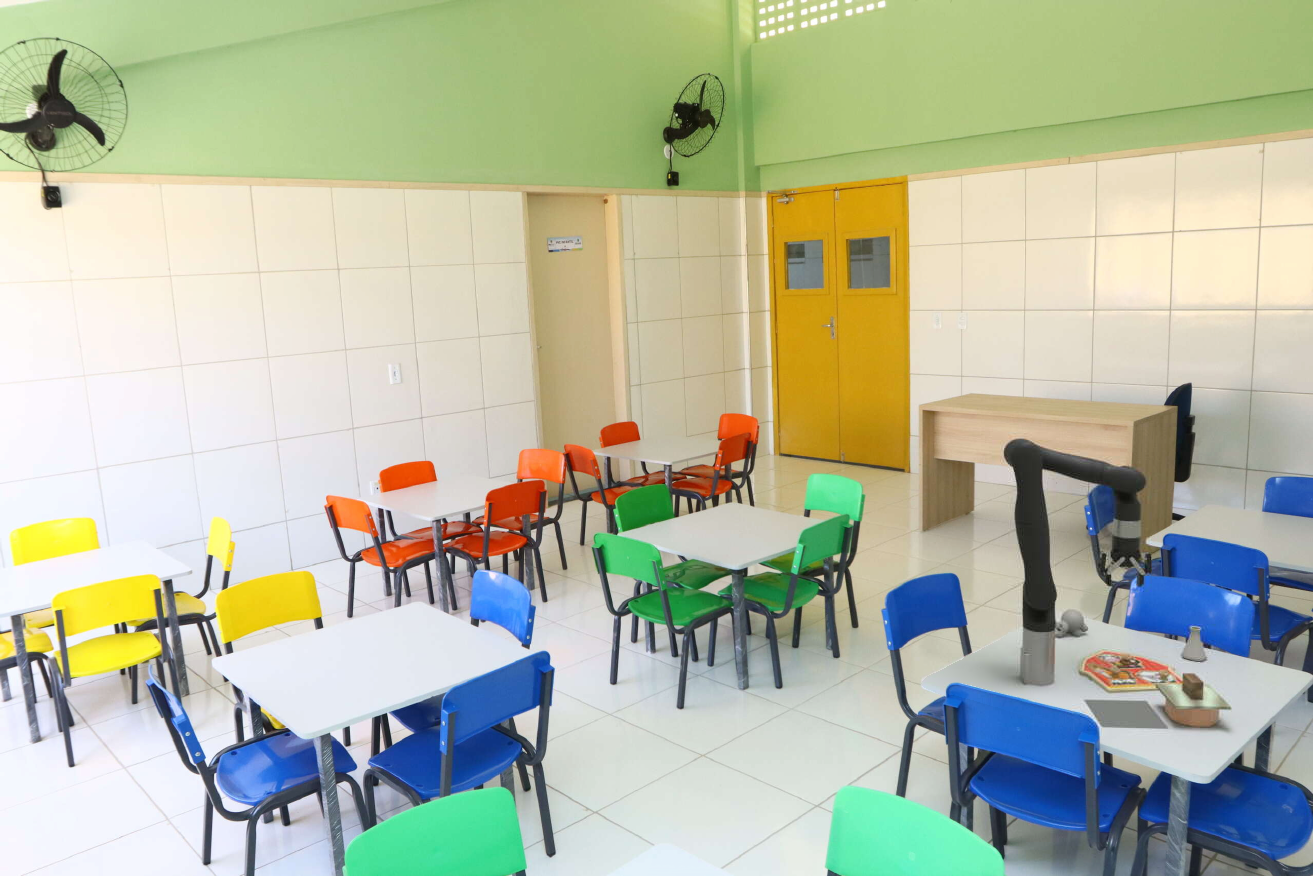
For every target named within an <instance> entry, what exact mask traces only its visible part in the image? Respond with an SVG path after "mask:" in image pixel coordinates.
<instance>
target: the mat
mask: <svg viewBox="0 0 1313 876" xmlns="http://www.w3.org/2000/svg"><path fill="white" fill-rule="evenodd" d="M1083 701H1084V702H1085V704H1086V705H1087V707H1088V708H1089V710H1090V712H1091V713H1092V714H1093V716H1094V717H1095V719H1096V720H1097V722H1098V723H1099V725H1100V726H1101V728H1117V729H1119V728H1121V729H1122V728H1123V729H1124V728H1125V729H1126V728H1127V729H1159V730H1160V729H1162V730H1163V729H1164V730H1169V727H1168V726H1167V724H1166V723H1165V722H1164V721H1163V720H1162V718H1161V717H1160V716H1159V715H1158V713H1157V712H1156V710H1154V708H1153V707H1152V706H1151V705H1150V703H1148V701H1147V700H1120V699H1119V700H1117V699H1083Z"/></svg>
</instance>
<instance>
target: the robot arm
mask: <svg viewBox="0 0 1313 876" xmlns="http://www.w3.org/2000/svg"><path fill="white" fill-rule="evenodd" d="M1003 457H1004V460H1005V462H1006V463H1007V464H1008V465H1009V466H1010V467H1011V468H1012V469H1013V473H1014V478H1015V483H1016V498H1015V505H1014V525H1015V533H1016V538H1017V544H1018V547H1019V551H1020V555H1021V559H1022V564H1023V570H1024V581H1023V585H1022V611H1021V613H1022V614H1021V615H1022V643H1021V644H1022V647H1020V656H1019V657H1020V658H1019V659H1020V660H1019V661H1020V664H1019V665H1020V666H1019V667H1020V668H1019V670H1020V672H1019V677H1020V679H1021V680H1022V682H1023V684H1024V685H1032V686H1036V687H1037V686H1038V687H1049V686H1052V685H1053V684H1054V683H1055V675H1056V674H1055V668H1056V667H1055V666H1056V660H1055V659H1056V654H1055V653H1056V636H1055V630H1056V601H1057V598H1058V592H1057V589H1056V588H1057V587H1056V584H1055V582H1054V578H1053V573H1052V568H1051V540H1050V539H1051V538H1050V537H1051V536H1050V534H1051V533H1050V525H1049V517H1048V510H1047V503H1046V497H1045V492H1044V485H1043V484H1044V483H1043V470H1045V471H1048V472H1053V473H1056V474H1059V475H1062V476H1064V477H1068V478H1072V479H1075V480H1078V481H1082V482H1086V483H1090V484H1095V485H1100V486H1104V487H1105V486H1106V487H1108V488H1111V489H1112V493H1113V500H1114V508H1113V511H1114V512H1113V523H1112V529H1111V533H1112V534H1111V550H1110V552H1108V551H1107V552H1105V551H1104V550H1101V551H1100V552H1099V557H1098V565H1097V569H1098V570H1099V572H1100V573H1103V574H1104V581H1103V582H1104V583H1105V585H1106V586H1107V587H1111V586H1112V573H1113V572H1114V571H1115V570H1117V568H1118V567H1119V568H1132V567H1134V568H1135V569H1136V571H1137V572H1136V586H1137V587H1138V588H1142V586H1144V585H1145V584H1144V582H1145V575H1146V574H1151V573H1152V572H1153V570H1152V568H1153V567H1152V563H1153V562H1152V554H1151V553H1150V552H1148V551H1145V552H1141V551H1140V550H1141V535H1142V534H1141V532H1142V526H1141V514H1142V505H1141V502H1140V500H1139V499H1138V495H1137V493H1140V492H1141V491H1143V490H1144V489H1145V488H1146V484H1147V479H1146V477H1145V475H1144V473H1143V472H1141V471H1140V470H1138V469H1136V468H1134V467H1132V466H1130V465H1121V466H1118V465H1113V464H1111V463H1109V462H1106V461H1103V460H1099V459H1096V458H1095V459H1094V458H1091V457H1085V456H1080V455H1076V454H1071V453H1066V452H1061V451H1057V450H1053V449H1049V448H1046V447H1044V446H1041V445H1038V444H1036V443H1035V442H1033V441H1031V440H1030V439H1026V438H1015V439H1013V440H1011V441H1009V442H1008V443H1007V444H1006V445H1005V447H1004V449H1003ZM1109 558H1110V559H1111V560H1110V562H1109V563H1108V565H1107V566H1106V564H1107V563H1106V562H1107V561H1108V559H1109ZM1141 558H1142V560H1144V564H1143V565H1144V568H1142V566H1140V564H1139V563H1138V561H1140V559H1141Z"/></svg>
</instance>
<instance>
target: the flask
mask: <svg viewBox="0 0 1313 876" xmlns="http://www.w3.org/2000/svg"><path fill="white" fill-rule="evenodd" d="M1189 629H1190V634H1189V637H1188V640H1187V642H1186V644H1185V646H1184V648H1183V649H1182V652H1181V653H1180V656H1181V657H1182V659H1185V660H1189V661H1191V662H1193V661H1194V662H1204V661H1206V660H1207V659H1208V658H1207V655H1206V652H1205V649H1204V647H1203V643H1202V640H1201V639H1202V638H1201V630H1202V628H1201V627H1200V626H1197V625H1196V626H1195V625H1190V626H1189Z"/></svg>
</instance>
